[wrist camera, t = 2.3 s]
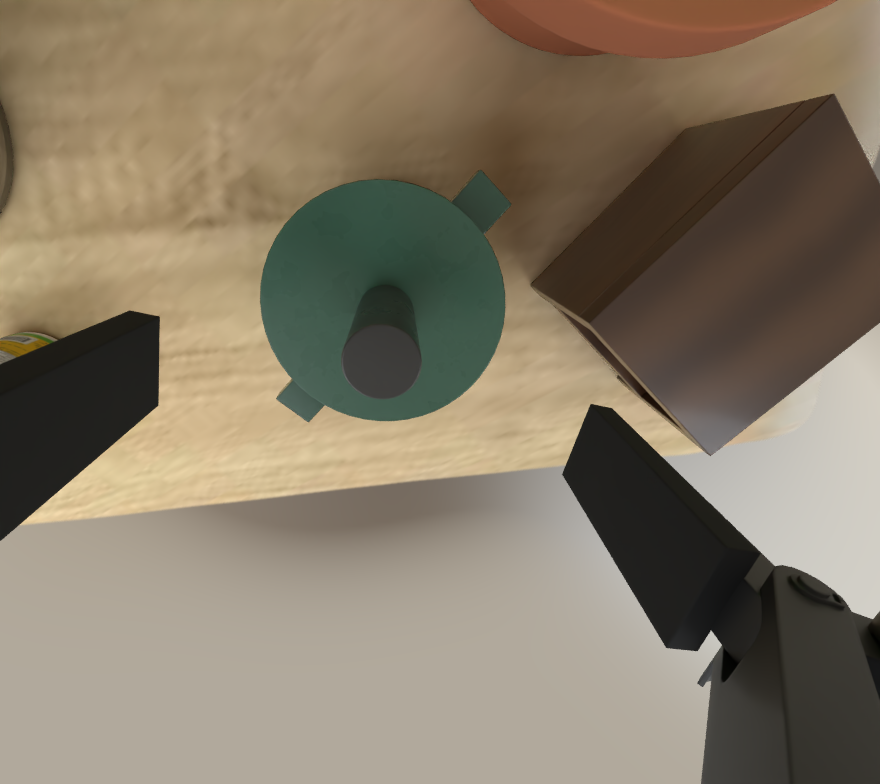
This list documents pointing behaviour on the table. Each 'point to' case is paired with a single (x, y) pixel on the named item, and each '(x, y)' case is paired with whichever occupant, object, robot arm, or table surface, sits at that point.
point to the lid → (382, 300)
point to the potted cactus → (641, 24)
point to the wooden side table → (730, 267)
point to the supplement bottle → (22, 344)
